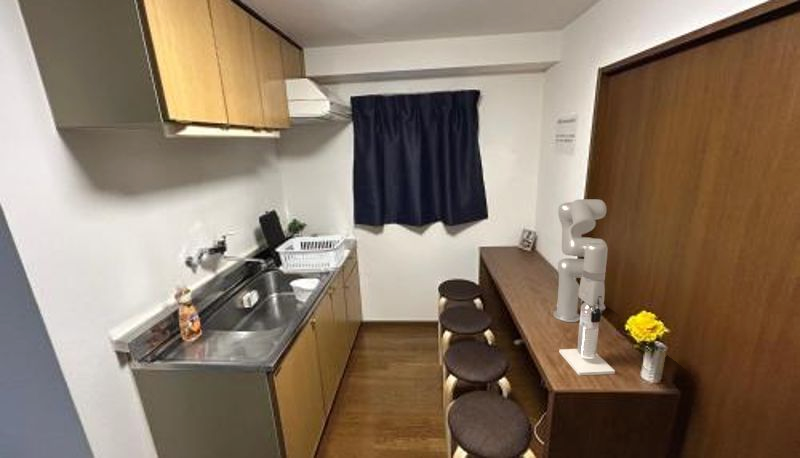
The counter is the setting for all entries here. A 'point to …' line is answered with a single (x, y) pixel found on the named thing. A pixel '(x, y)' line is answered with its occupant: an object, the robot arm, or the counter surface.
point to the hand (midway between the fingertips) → (589, 317)
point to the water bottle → (587, 333)
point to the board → (586, 363)
